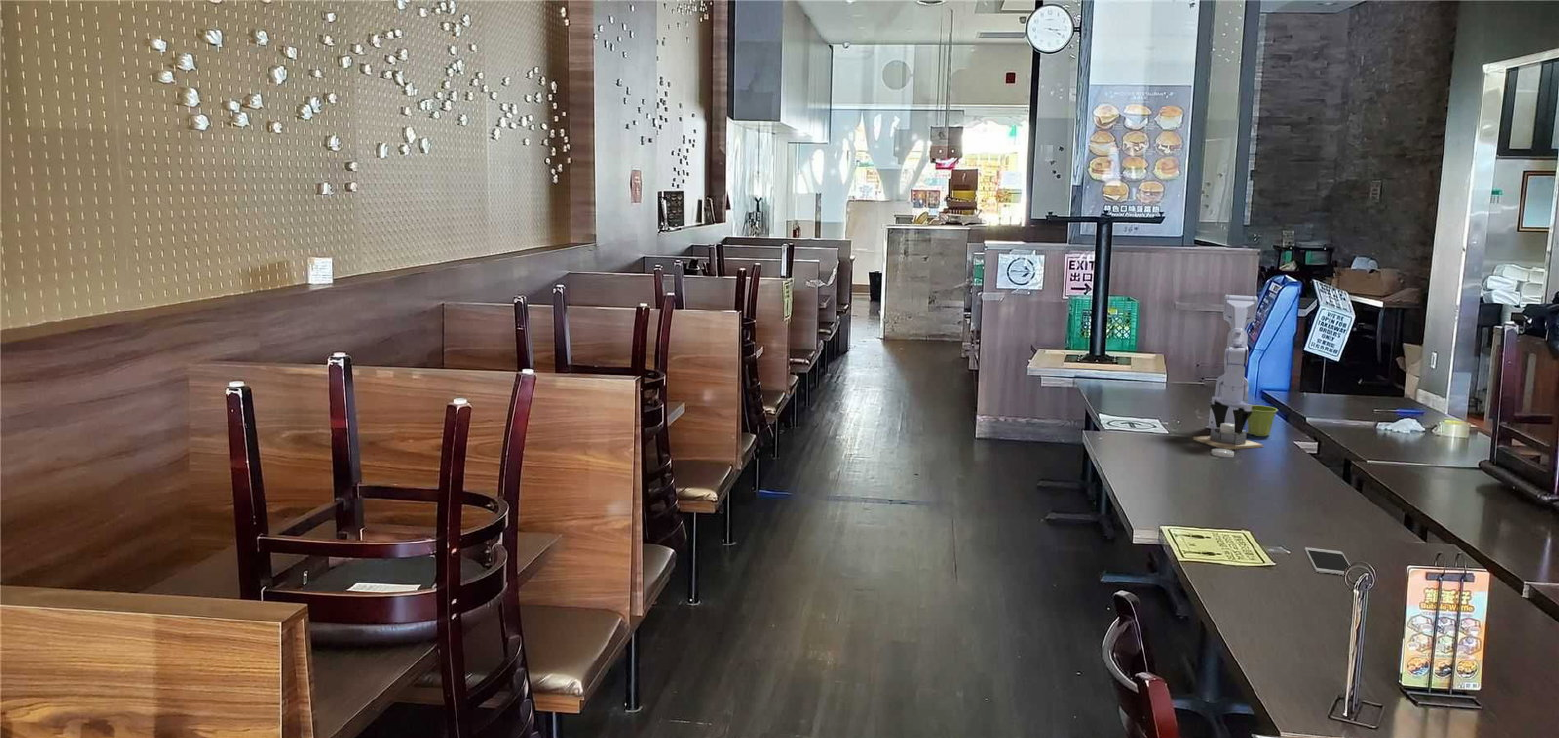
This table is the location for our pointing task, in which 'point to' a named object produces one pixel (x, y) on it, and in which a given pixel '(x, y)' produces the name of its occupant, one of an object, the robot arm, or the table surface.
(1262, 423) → the plant pot
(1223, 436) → the lens ring
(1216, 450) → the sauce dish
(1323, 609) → the table surface
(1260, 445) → the mount plate
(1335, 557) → the smartphone
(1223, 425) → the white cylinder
